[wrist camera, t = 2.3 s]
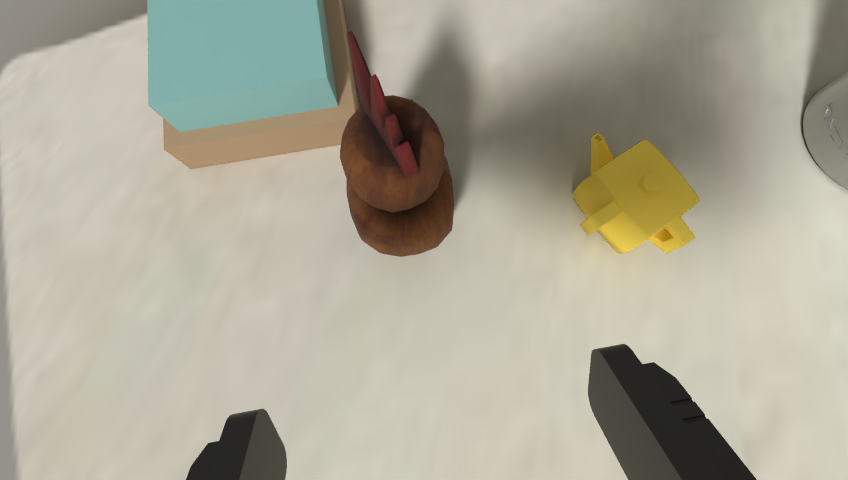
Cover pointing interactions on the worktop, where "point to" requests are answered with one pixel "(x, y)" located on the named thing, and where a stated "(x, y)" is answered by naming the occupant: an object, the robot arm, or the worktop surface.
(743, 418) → the worktop surface
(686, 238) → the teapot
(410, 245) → the wooden figurine
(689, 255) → the worktop surface
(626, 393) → the robot arm
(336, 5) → the tower base
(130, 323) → the worktop surface
